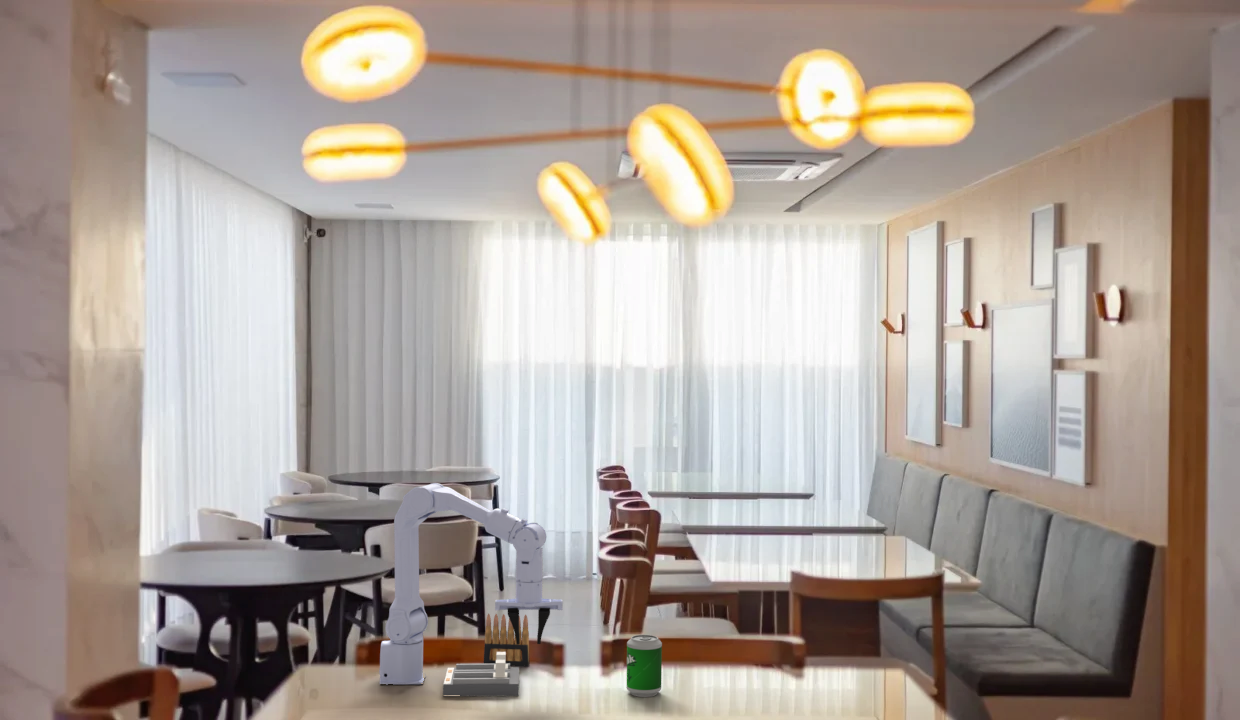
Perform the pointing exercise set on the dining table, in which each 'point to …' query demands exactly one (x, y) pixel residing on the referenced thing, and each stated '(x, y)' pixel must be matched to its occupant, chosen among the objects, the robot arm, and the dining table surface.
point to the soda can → (644, 665)
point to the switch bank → (480, 681)
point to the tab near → (500, 669)
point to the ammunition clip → (506, 642)
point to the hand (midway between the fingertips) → (528, 643)
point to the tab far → (501, 658)
